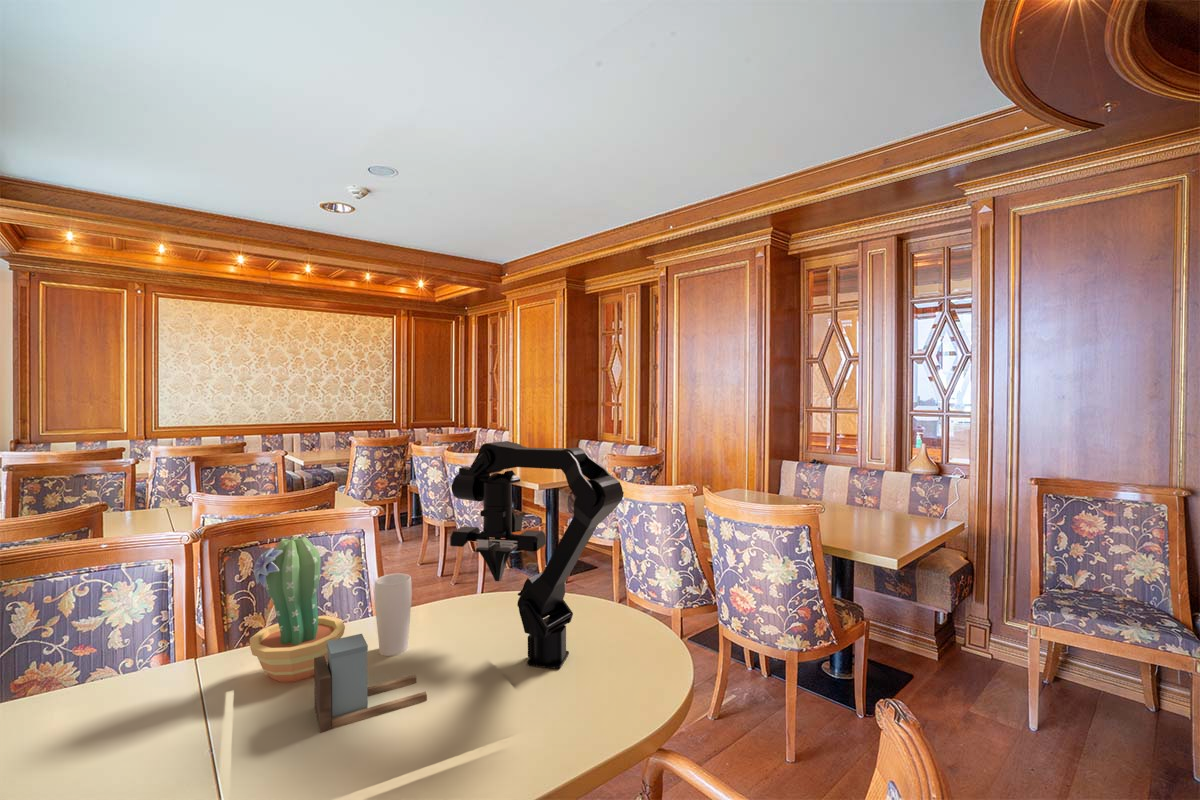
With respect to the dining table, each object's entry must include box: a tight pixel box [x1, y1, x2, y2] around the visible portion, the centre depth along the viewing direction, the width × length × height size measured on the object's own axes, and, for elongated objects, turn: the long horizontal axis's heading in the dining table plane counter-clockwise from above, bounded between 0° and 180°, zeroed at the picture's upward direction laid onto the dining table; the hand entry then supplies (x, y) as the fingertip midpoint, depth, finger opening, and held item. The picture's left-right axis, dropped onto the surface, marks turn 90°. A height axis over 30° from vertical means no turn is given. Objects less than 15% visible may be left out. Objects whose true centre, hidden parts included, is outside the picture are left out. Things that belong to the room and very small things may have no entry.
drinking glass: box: [374, 573, 413, 657], centre depth 109 cm, size 7×7×15 cm
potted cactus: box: [249, 535, 346, 683], centre depth 101 cm, size 15×15×25 cm
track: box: [313, 656, 428, 734], centre depth 90 cm, size 16×8×9 cm, turn 122°
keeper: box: [327, 633, 369, 718], centre depth 88 cm, size 5×5×11 cm
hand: (498, 580), depth 114 cm, fingers closed
